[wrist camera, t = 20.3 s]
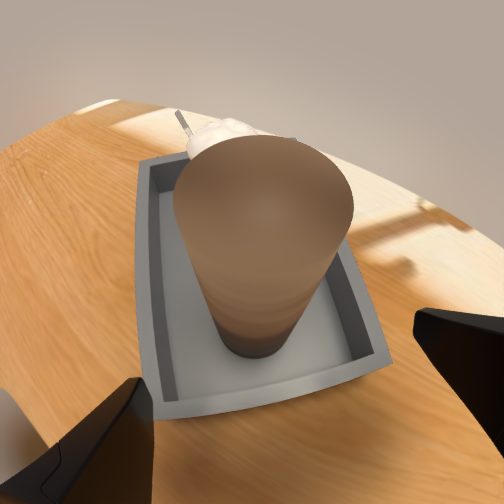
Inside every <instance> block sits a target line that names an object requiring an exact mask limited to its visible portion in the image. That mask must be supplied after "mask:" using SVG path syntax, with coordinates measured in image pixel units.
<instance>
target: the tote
mask: <svg viewBox="0 0 504 504" xmlns="http://www.w3.org/2000/svg"><path fill="white" fill-rule="evenodd" d="M288 139H292V140H295V141H297V140H296V138H288ZM189 162H190V159H189V156H188V154H187V151H186V152H181V153H176V154H171V155H166V156H161V157H157V158H152V159H148V160H143V161H140V162H139V172H138V184H137V198H136V217H135V295H136V314H137V328H138V340H139V350H140V359H141V367H142V375H143V380H144V382H145V384H146V386H147V388H148V390H149V392H150V394H151V397H152V400H153V421H154V420H168V419H180V418H189V417H197V416H205V415H212V414H219V413H225V412H231V411H237V410H242V409H247V408H252V407H257V406H262V405H266V404H270V403H275V402H279V401H283V400H287V399H291V398H294V397H298V396H302V395H305V394H309V393H312V392H316V391H319V390H322V389H325V388H328V387H331V386H335V385H338V384H340V383H343V382H346V381H349V380H352V379H355V378H357V377H360V376H363V375H365V374H368V373H371V372H373V371H376V370H378V369H381V368H383V367H385V366H388V365H390V364H392V363H393V362H392V359H391V355H390V352H389V349H388V346H387V343H386V340H385V337H384V334H383V331H382V328H381V325H380V322H379V320H378V317H377V314H376V311H375V309H374V306H373V303H372V301H371V298H370V295H369V293H368V290H367V287H366V285H365V282H364V280H363V277H362V275H361V272H360V270H359V268H358V265H357V263H356V260H355V258H354V256H353V253H352V251H351V249H350V246H349V244H348V242H347V240H346V237H344V239H343V241H342V243H341V245H340V247H339V249H338V251H337V253H336V255H335V257H334V259H333V260H332V262H331V264H330V266H329V268H328V270H327V272H326V273H325V275H324V277H323V279H322V281H321V283H320V284H319V286H318V288H317V290H316V291H315V293H314V295H313V297H312V299H311V300H310V302H309V304H308V305H307V307H306V309H305V311H304V312H303V314H302V316H301V317H300V319H299V321H298V322H297V324H296V326H295V327H294V329H293V331H292V332H291V334H290V336H289V337H288V339H287V341H286V342H285V344H284V345H283V346H282V347H281V348H280V349H279V350H278V351H277V352H276V353H274V354H272V355H270V356H268V357H265V358H261V359H248V358H243V357H240V356H238V355H236V354H234V353H233V352H231V351H230V350H229V349H228V348H227V347H226V346H225V345H224V343H223V342H222V340H221V338H220V336H219V333H218V331H217V328H216V326H215V324H214V321H213V319H212V316H211V314H210V311H209V309H208V306H207V303H206V301H205V298H204V296H203V293H202V291H201V288H200V285H199V283H198V280H197V277H196V275H195V272H194V269H193V266H192V264H191V261H190V258H189V255H188V253H187V250H186V247H185V244H184V241H183V238H182V235H181V233H180V230H179V227H178V224H177V221H176V218H175V214H174V209H173V192H174V187H175V184H176V181H177V179H178V177H179V175H180V173H181V172H182V170H183V169H184V168H185V166H186V165H187V164H188V163H189Z"/></svg>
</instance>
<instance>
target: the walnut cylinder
mask: <svg viewBox="0 0 504 504" xmlns="http://www.w3.org/2000/svg"><path fill="white" fill-rule="evenodd" d="M173 209H174V214H175V218H176V221H177V224H178V227H179V230H180V233H181V235H182V238H183V241H184V244H185V247H186V250H187V253H188V255H189V258H190V261H191V264H192V266H193V269H194V272H195V275H196V277H197V280H198V283H199V285H200V288H201V291H202V293H203V296H204V298H205V301H206V303H207V306H208V309H209V311H210V314H211V316H212V319H213V321H214V324H215V326H216V328H217V331H218V333H219V336H220V338H221V340H222V342H223V343H224V345H225V346H226V347H227V348H228V349H229V350H230V351H231V352H233V353H234V354H236V355H238V356H240V357H243V358H248V359H261V358H265V357H268V356H270V355H272V354H274V353H276V352H277V351H278V350H279V349H280V348H281V347H282V346H283V345H284V344H285V342H286V341H287V339H288V337H289V336H290V334H291V332H292V331H293V329H294V327H295V326H296V324H297V322H298V321H299V319H300V317H301V316H302V314H303V312H304V311H305V309H306V307H307V305H308V304H309V302H310V300H311V299H312V297H313V295H314V293H315V291H316V290H317V288H318V286H319V284H320V283H321V281H322V279H323V277H324V275H325V273H326V272H327V270H328V268H329V266H330V264H331V262H332V260H333V259H334V257H335V255H336V253H337V251H338V249H339V247H340V245H341V243H342V241H343V239H344V237H345V235H346V233H347V231H348V229H349V227H350V225H351V221H352V218H353V211H354V203H353V196H352V191H351V189H350V186H349V184H348V182H347V180H346V178H345V176H344V175H343V174H342V172H341V171H340V170H339V168H338V167H337V166H336V165H335V164H334V163H333V162H332V161H331V160H330V159H328V158H327V157H326V156H325V155H323V154H322V153H320V152H319V151H317V150H315V149H314V148H312V147H310V146H308V145H305V144H303V143H301V142H298V141H295V140H292V139H288V138H283V137H278V136H270V135H250V136H241V137H236V138H232V139H228V140H225V141H222V142H219V143H217V144H214V145H212V146H210V147H208V148H207V149H205V150H203V151H202V152H200V153H199V154H198V155H196V156H195V157H194V158H193V159H192V160H191V161H190V162H189V163H188V164H187V165H186V166H185V168H184V169H183V170H182V172H181V173H180V175H179V177H178V179H177V181H176V184H175V187H174V192H173Z"/></svg>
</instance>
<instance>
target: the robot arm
mask: <svg viewBox="0 0 504 504" xmlns="http://www.w3.org/2000/svg"><path fill="white" fill-rule="evenodd" d="M413 336H414V338H415V340H416V341H417V342H418V344H419V345H420V347H421V348H422V350H423V351H424V352H425V354H426V355H427V357H428V358H429V360H430V361H431V363H432V364H433V366H434V367H435V368H436V369H437V371H438V372H439V373H440V374H441V376H442V377H443V378H444V379H445V380H446V382H447V383H448V384H449V385H450V387H451V388H452V389H453V390H454V392H455V393H456V394H457V395H458V397H459V398H460V399H461V400H462V402H463V403H464V404H465V405H466V407H467V408H468V409H469V411H470V412H471V413H472V415H473V416H474V417H475V419H476V420H477V421H478V423H479V424H480V425H481V427H482V428H483V429H484V431H485V432H486V433H487V435H488V436H489V438H490V439H491V440H492V442H493V443H494V445H495V446H496V448H497V449H498V451H499V452H500V454H501V455H502V457H503V458H504V317H495V316H487V315H479V314H471V313H463V312H456V311H449V310H441V309H434V308H427V307H425V308H422V309H420V310H418V311H416V313H415V317H414V325H413ZM153 458H154V421H153V400H152V397H151V394H150V392H149V390H148V388H147V386H146V384H145V382H144V380H143V378H141V377H134V378H128V379H127V380H126V381H125V382H124V383H123V384H122V385H121V386H119V387H118V388H117V389H116V390H115V391H114V392H113V393H112V394H111V395H110V396H108V397H107V398H106V399H105V400H104V401H103V402H102V403H101V404H100V405H98V406H97V407H96V408H95V409H94V410H93V411H92V412H91V413H89V414H88V415H87V416H86V417H85V418H84V419H83V420H82V421H81V422H79V423H78V424H77V425H76V426H75V427H74V428H73V429H72V430H70V431H69V432H68V433H67V434H66V435H65V436H64V437H62V438H61V439H60V440H59V443H58V442H57V443H56V444H55V445H53V446H52V447H51V448H50V449H49V450H48V451H46V452H45V453H44V454H43V455H42V456H40V457H39V458H38V459H37V460H35V461H34V462H33V463H31V464H30V465H29V466H27V467H26V468H24V469H23V470H21V471H20V472H19V473H17V474H16V475H14V476H13V477H11V478H10V479H8V480H7V481H5V482H4V483H2V484H1V485H0V504H151V498H152V474H153Z"/></svg>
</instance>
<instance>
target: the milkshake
mask: <svg viewBox="0 0 504 504" xmlns="http://www.w3.org/2000/svg"><path fill="white" fill-rule="evenodd" d="M175 115H176V117H177V119H178V120H179V122H180V124H181V125H182V127H183V129H184V130H185V132H186V134H187V135H188V137H189V139H190V140H189V141H188V144H187V154H188V156H189V159H190V161H191V160H192V159H193V158H194V157H195V156H196V155H198V154H199V153H200V152H202V151H203V150H205V149H207V148H208V147H210V146H212V145H214V144H217V143H219V142H222V141H225V140H228V139H232V138H236V137H241V136H250V135H258V133H257V132H256V131H255V129H254V128H252V127H251V126H250V125H248V124H246V123H243V122H240V121H238V120H236V119H233V118H227V119H224V120H221V121H215V122H210V123H208V124H206V125H204V126H203V127H202V128H200V129H199V130H197V131H196V132H195V133H194V134H193V133H192V131H191V130H190V128H189V126H188V125H187V123H186V121H185V120H184V118H183V116H182V114H181V113H180V111H179V110H177V111H176V112H175Z"/></svg>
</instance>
